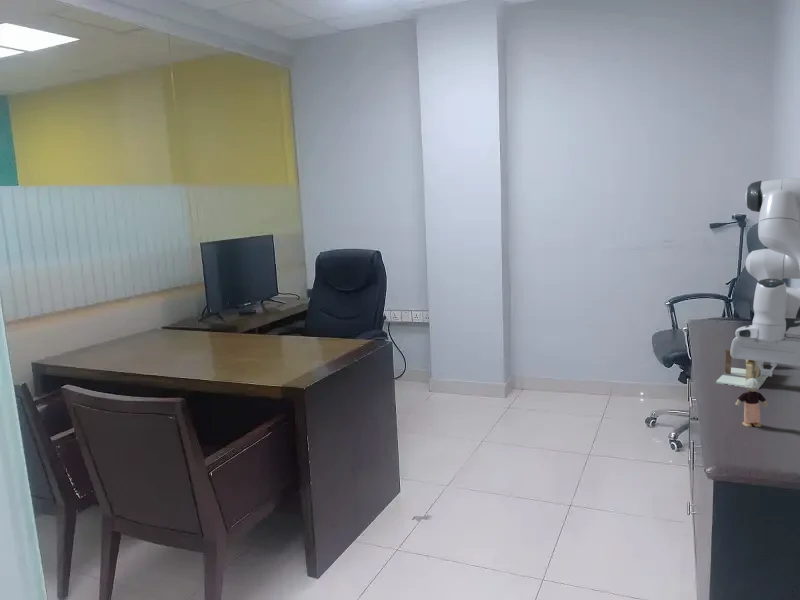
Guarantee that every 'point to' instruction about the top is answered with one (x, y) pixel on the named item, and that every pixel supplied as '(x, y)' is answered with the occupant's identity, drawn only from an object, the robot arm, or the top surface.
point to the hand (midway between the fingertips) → (766, 375)
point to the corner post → (728, 362)
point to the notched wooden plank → (751, 369)
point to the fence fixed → (757, 371)
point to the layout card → (738, 378)
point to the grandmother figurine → (751, 403)
